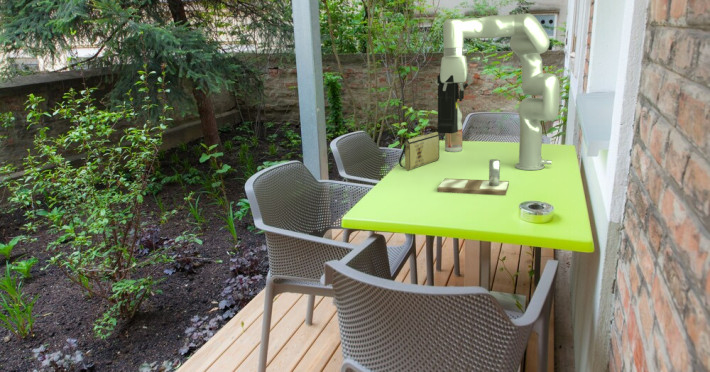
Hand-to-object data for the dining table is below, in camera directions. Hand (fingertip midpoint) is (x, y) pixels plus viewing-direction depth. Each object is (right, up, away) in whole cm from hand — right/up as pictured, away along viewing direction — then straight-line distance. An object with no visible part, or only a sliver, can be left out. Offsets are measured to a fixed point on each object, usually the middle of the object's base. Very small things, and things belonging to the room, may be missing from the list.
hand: (453, 100), depth 194 cm
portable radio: (-1, -12, +4) cm, 13 cm away
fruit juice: (+16, -14, +82) cm, 85 cm away
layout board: (+9, -34, +6) cm, 36 cm away
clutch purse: (-7, -23, +51) cm, 57 cm away
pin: (+17, -33, +3) cm, 37 cm away
